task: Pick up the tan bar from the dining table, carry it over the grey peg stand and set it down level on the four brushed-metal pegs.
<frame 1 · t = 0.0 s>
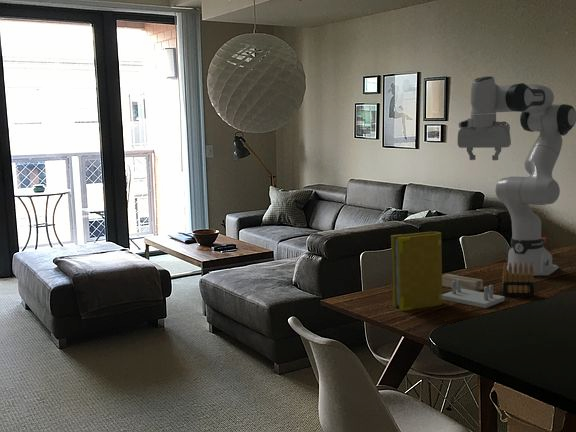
hand: (483, 160, 237), 48 cm above the table, tool pointing down, fingers open, 8 cm apart
book: (419, 305, 224), on the table
peg stand: (472, 299, 228), on the table
ammunition clip: (518, 295, 231), on the table
tan bar: (460, 288, 245), on the table
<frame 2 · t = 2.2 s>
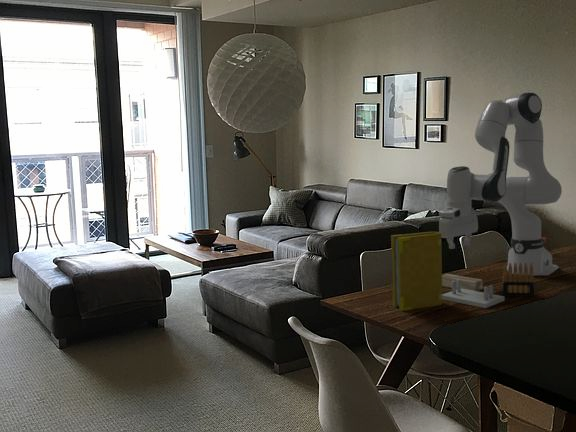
hand: (459, 246, 243), 16 cm above the table, tool pointing down, fingers open, 8 cm apart
nothing on the table moved.
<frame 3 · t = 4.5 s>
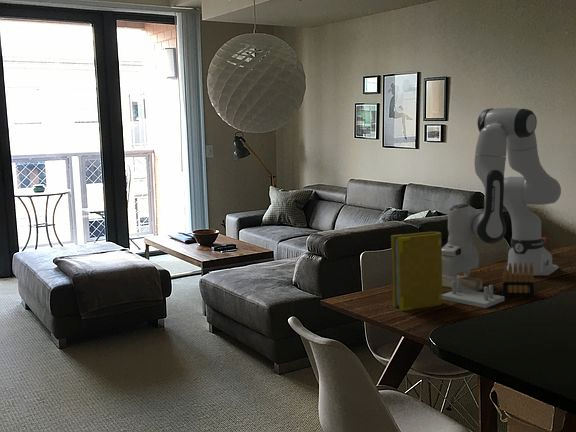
hand: (460, 283, 245), 2 cm above the table, tool pointing down, fingers closed on tan bar, 5 cm apart
tan bar: (460, 287, 245), on the table, touching gripper
everything else where it was.
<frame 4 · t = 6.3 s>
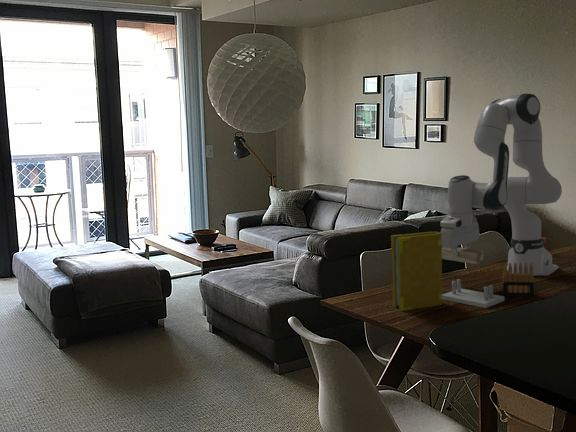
hand: (461, 255, 244), 12 cm above the table, tool pointing down, fingers closed on tan bar, 5 cm apart
tan bar: (461, 259, 244), point 11 cm above the table, touching gripper
everything else where it was.
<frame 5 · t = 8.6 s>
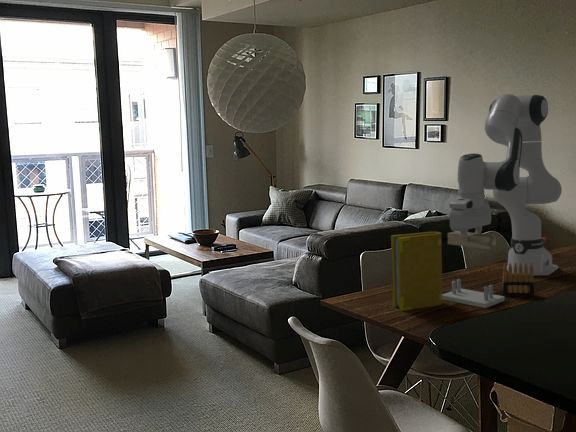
hand: (471, 240, 225), 21 cm above the table, tool pointing down, fingers closed on tan bar, 5 cm apart
tan bar: (471, 245, 225), point 20 cm above the table, touching gripper
everything else where it was.
when the fingers open (9 cm above the table, at t = 11.7 s): tan bar drops 1 cm, resting on peg stand.
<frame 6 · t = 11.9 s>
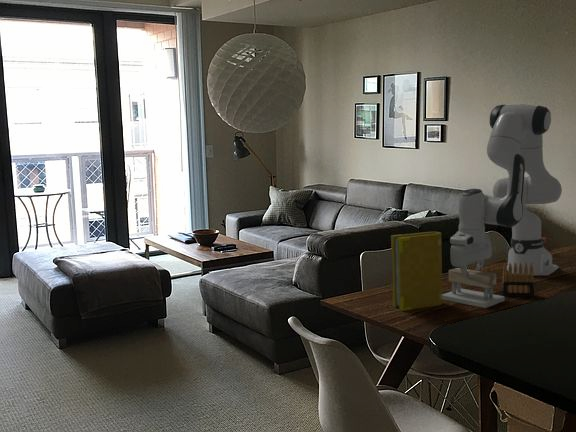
hand: (472, 274, 227), 9 cm above the table, tool pointing down, fingers open, 7 cm apart
tan bar: (472, 283, 227), point 6 cm above the table, touching peg stand
everything else where it was.
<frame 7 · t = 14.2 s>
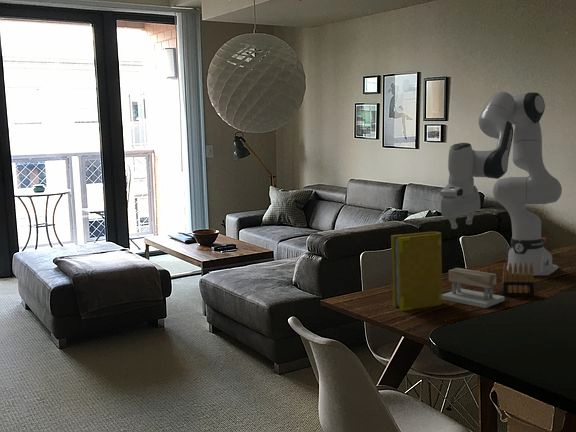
hand: (461, 226, 235), 25 cm above the table, tool pointing down, fingers open, 8 cm apart
nothing on the table moved.
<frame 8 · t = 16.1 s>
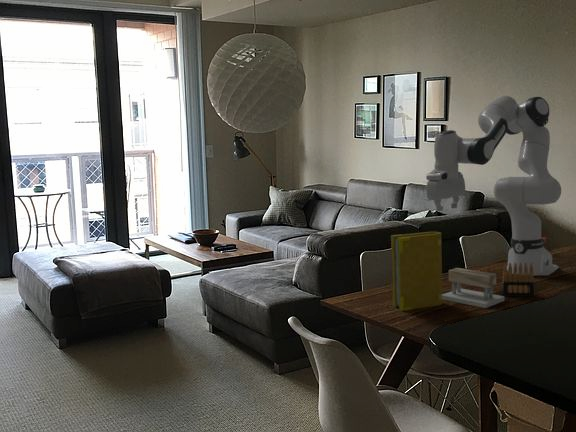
hand: (447, 209, 248), 29 cm above the table, tool pointing down, fingers open, 8 cm apart
nothing on the table moved.
at the end: tan bar 0.1 cm off-centre on the peg stand, point 6.0 cm above the peg stand's base; tan bar tilted 0°; the gripper is holding nothing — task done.
